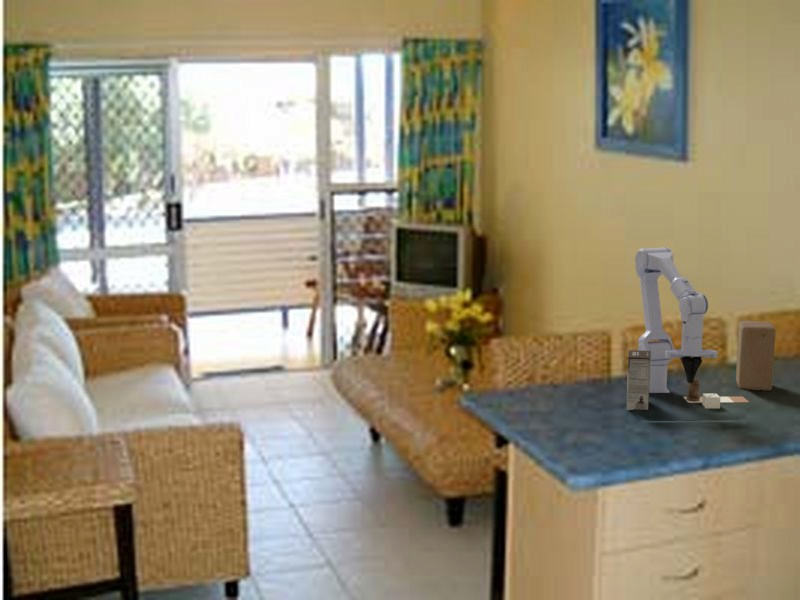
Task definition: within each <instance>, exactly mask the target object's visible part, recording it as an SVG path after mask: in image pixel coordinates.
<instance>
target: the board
mask: <svg viewBox="0 0 800 600" xmlns="http://www.w3.org/2000/svg"><path fill="white" fill-rule="evenodd" d="M699 397H700V401H688V400H687V396H683V399H684V400H685V401H686V402H687V403H690V404H693V403H695V404H696V403H699V404H700V403H701V404H702V399H703V396H699ZM720 403H750V401H749V400H747V399H746V398H745V397H744V396H720Z"/></svg>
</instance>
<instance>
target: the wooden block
mask: <svg viewBox="0 0 800 600" xmlns="http://www.w3.org/2000/svg"><path fill="white" fill-rule="evenodd" d="M776 331H777V330H776V329H775V326H774V325H773V323H772V322H770V321H758V320H757V321H756V320H755V321H753V320H741V321H739V323H738V335H737V354H736V355H737V356H736V371H735V381H736V384H737V387H738V389H742V390H743V389H746V390H748V391H760V390H762V391H763V392H769V391H772V389H773V381H774V379H773V378H774V377H773V376H774V362H775V361H774V360H775V347H776V345H775V344H776Z"/></svg>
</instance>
